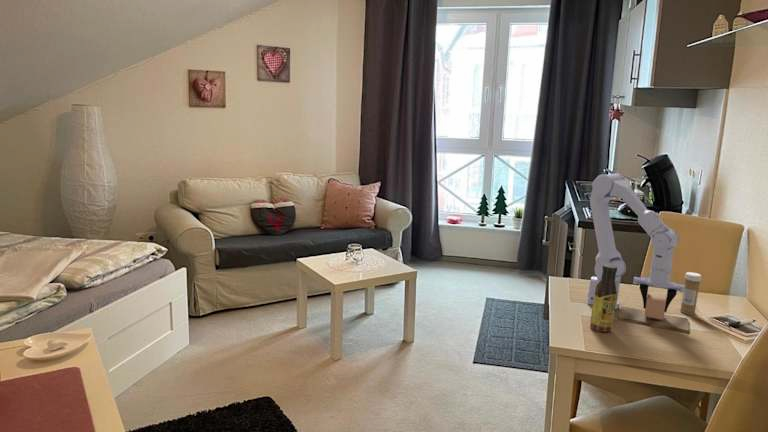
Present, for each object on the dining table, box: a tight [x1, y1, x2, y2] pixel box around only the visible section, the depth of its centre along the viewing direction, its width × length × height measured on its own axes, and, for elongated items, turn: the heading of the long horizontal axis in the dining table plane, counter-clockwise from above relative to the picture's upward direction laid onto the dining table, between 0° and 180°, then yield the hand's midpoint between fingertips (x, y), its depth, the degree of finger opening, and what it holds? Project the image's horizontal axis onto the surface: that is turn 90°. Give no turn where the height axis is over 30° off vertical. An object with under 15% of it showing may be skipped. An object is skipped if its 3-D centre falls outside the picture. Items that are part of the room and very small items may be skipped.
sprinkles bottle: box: [679, 271, 702, 316], centre depth 195 cm, size 5×5×13 cm
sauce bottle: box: [589, 264, 617, 333], centre depth 176 cm, size 6×6×20 cm
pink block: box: [644, 292, 667, 320], centre depth 187 cm, size 5×5×6 cm
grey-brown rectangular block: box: [617, 305, 690, 334], centre depth 187 cm, size 20×11×6 cm, turn 64°
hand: (654, 309), depth 187 cm, fingers closed on pink block, 5 cm apart
